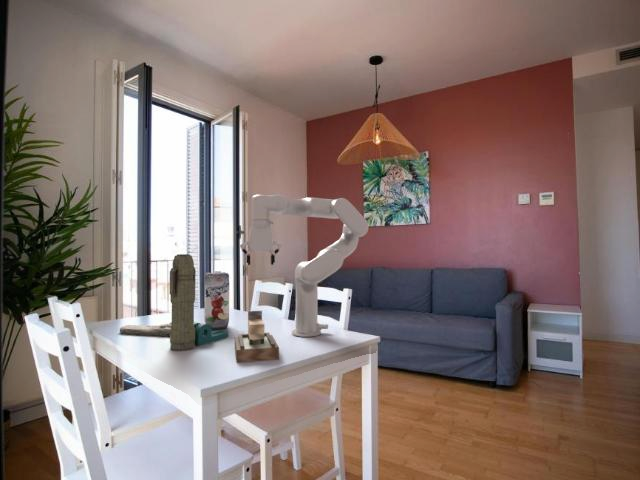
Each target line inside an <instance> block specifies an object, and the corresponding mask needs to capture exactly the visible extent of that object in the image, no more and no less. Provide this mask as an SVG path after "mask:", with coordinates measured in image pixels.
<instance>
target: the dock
mask: <svg viewBox="0 0 640 480" xmlns="http://www.w3.org/2000/svg"><path fill="white" fill-rule="evenodd" d="M252 340H253V343H252V344H249V339H248V333H240V334H238V336H235V337H234V353H235V362H236V363H244V362H245V363H247V362H259V361H271V360H275V361H276V360H280V347H279V345H278V342H277V341H276V339H275V338H274V336H273V334H270V332H264V344H261V339H252Z"/></svg>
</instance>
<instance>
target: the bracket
mask: <svg viewBox="0 0 640 480" xmlns="http://www.w3.org/2000/svg"><path fill="white" fill-rule="evenodd" d="M194 327H195V341H194V345H195V347H200V346H204V345H207V344H211V343H213V342H216V341H219V340H223V339H227V338H228V337H229V330H226V329H218V330H212V329H211V326H210V325H208V324H205V323H201V322H196V321H194Z"/></svg>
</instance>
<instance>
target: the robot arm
mask: <svg viewBox="0 0 640 480" xmlns="http://www.w3.org/2000/svg"><path fill="white" fill-rule="evenodd" d="M271 213H272V214H275V215H281V216H293V217H295V216H296V217H307V218H323V219H335V220H337V219H339V220H340V221H341V222H342V223H343V225H342V234H341V236H340V237H339V239H338V240H336V241H334V243H332V244H330V245H329V246H326V247H325V248H324V249H321V250H320V251H319V252H318V253H317V255H316V256H315V257H314V258H313V259H312V260H310V261H309V260H303V261H301V262H300V263H298V264H297V265H296V267H295V270H294V280H295V281H294V283H295V329H293V330H291V335H293V336H296V337H302V338H311V337H312V338H313V337H317V336H320V335H321V333H322V330H328V329H329V324H327V323H326V324H325V323H319V322H318V296H319V294H318V284H319V283H321V282H322V281H324V280H325V279H327V278H328V277H330V276H332V275H333V274H334V273H336V272H337V271H338V270H340V269H341V267H342V266H343V264H344V260H345V259H346V258H347V257H349V256H350V255H351V254H352V253H354V252H355V251H356V250H357V247H358V244H359V239H360V238H361V237H365V235H367V233H368V232H369V222H368V221H367V220H366V218H365V217H364V216H363V215H362V214H361V213H360V211H358V209H357V208H356V207H355V206H354V205H353V204H352V203H351V202H350V201H349V200H348V199H347V198H344V197H340V198H336V199H330V198H320V197H313V196H312V197H305V198H288V197H286V195H283V194H273V195H272V194H271V195H267V194H265V195H264V194H255V195H253V196H252V197H251V227H249V232H248V239H247V241H245V242H243V243H242V244H240V245H239V247H240V249H241V250H242V252H243V254H245V255H246V264H247V265H248V266H250V265H251V253H252V252H269V253H270V254H271V255H270V265H272V266H273V265H274V264H275V261H276V259H275V258H276V255H277V253H279V252H280V249H281V247H282V245H281V244H279V243H278V242H276V241H275V240H273V230H272V227H271V226H273V225H274V221H272V220H270V219H271V216H270V215H271ZM247 245H248V247H247V248H248V250H246V248H245V247H246V246H247ZM274 246H276V249H275V250H273V249H274Z"/></svg>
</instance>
